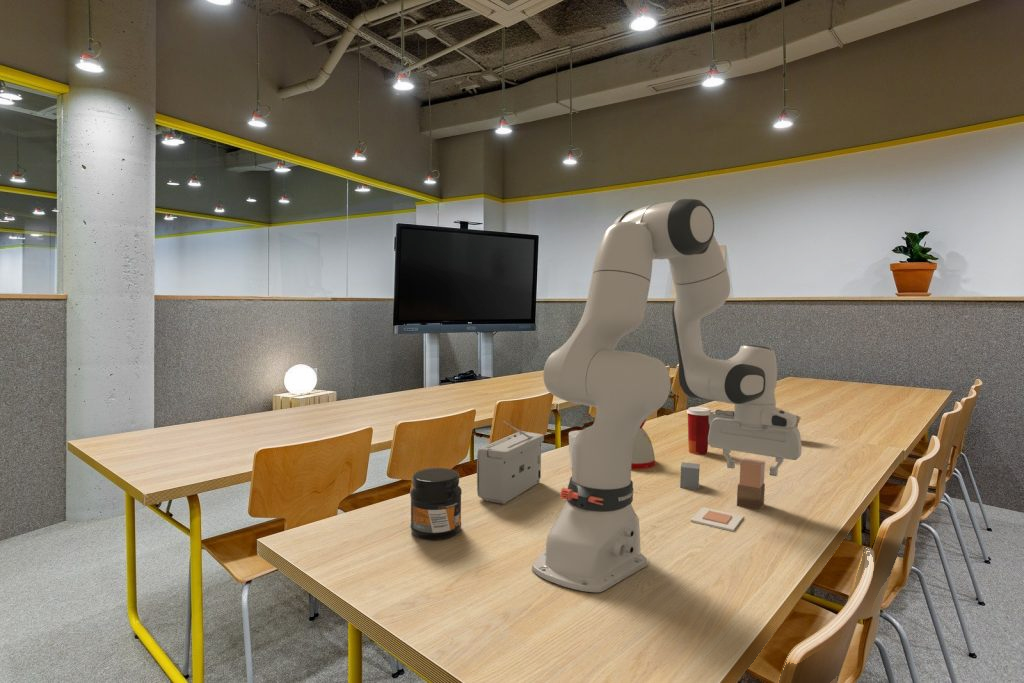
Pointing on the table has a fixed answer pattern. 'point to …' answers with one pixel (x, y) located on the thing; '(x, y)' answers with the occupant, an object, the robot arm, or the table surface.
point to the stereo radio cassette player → (509, 466)
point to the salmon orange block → (752, 473)
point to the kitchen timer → (642, 451)
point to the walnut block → (750, 497)
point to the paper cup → (698, 429)
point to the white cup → (571, 439)
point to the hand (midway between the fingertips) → (751, 471)
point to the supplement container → (435, 503)
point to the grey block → (689, 475)
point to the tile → (717, 519)
